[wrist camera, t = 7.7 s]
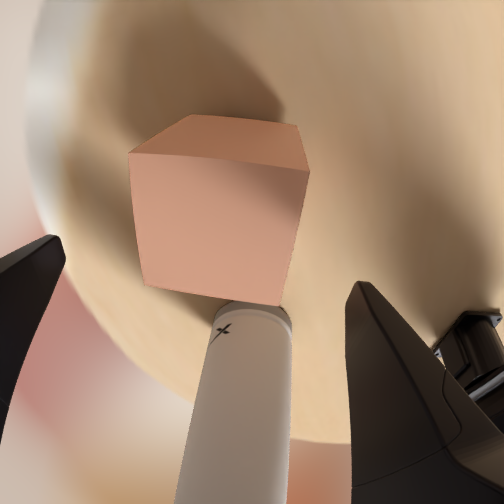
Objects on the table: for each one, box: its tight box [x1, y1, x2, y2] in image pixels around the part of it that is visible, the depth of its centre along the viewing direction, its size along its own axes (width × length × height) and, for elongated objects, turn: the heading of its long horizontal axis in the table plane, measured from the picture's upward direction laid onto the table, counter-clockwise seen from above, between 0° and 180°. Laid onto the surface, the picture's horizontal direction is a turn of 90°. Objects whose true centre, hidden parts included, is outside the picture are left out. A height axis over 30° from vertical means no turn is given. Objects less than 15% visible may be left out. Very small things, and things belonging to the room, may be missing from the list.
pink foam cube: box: [128, 114, 310, 306], centre depth 12 cm, size 5×5×7 cm
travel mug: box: [174, 301, 292, 504], centre depth 15 cm, size 6×7×20 cm
